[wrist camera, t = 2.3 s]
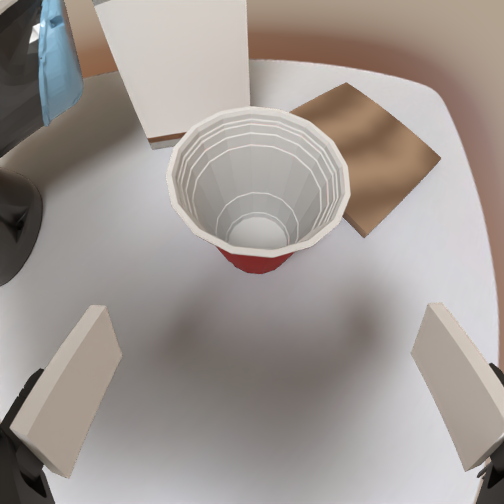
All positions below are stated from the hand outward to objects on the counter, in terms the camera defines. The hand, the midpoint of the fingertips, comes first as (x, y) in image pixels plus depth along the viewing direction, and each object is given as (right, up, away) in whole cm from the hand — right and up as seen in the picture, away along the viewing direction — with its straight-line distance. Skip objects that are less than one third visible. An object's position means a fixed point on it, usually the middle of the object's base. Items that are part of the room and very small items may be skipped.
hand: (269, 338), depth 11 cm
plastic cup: (0, +4, +17) cm, 17 cm away
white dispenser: (-7, +20, +23) cm, 32 cm away
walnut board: (+11, +15, +20) cm, 28 cm away
